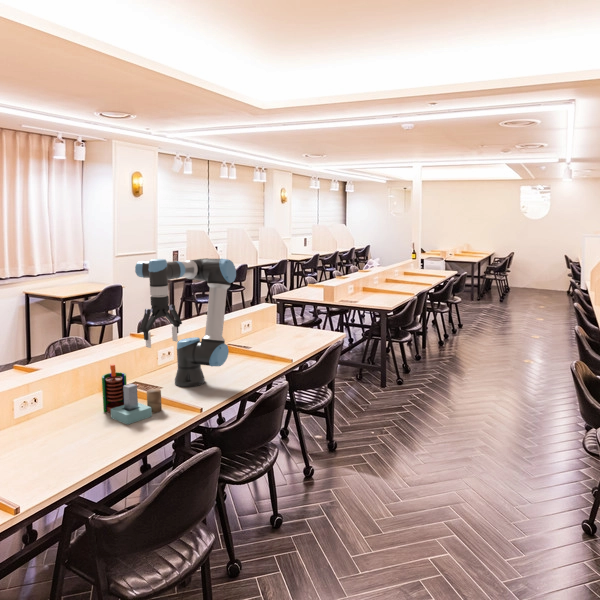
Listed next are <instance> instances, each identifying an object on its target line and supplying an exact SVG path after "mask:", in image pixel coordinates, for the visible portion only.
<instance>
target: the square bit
mask: <svg viewBox="0 0 600 600" xmlns="http://www.w3.org/2000/svg"><path fill="white" fill-rule="evenodd" d="M123 391H124V409H125V410H127V411H132V410H135V409H138V403H139V402H138V401H139V398H138V384H134V383H129V384H127V385H124V386H123Z"/></svg>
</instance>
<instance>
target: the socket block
mask: <svg viewBox="0 0 600 600" xmlns="http://www.w3.org/2000/svg"><path fill="white" fill-rule="evenodd" d="M152 414H153V413H152V407H149V406H147V404H143V403H140V402H138V409H135V410H132V411H127V410H125V409H124V405H122V406H119V407H115V408H112V409H111V413H110V419H113V420H115V421H117V422H120V423H123V424H125V425H130V424H134V423H136V422H139V421H142V420H145V419H149V418H152V417H153V415H152Z"/></svg>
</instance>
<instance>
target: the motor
mask: <svg viewBox="0 0 600 600" xmlns="http://www.w3.org/2000/svg"><path fill="white" fill-rule="evenodd" d="M109 369H110V372H108V373H105V374H103V375H102V376H101V389H102V406H103V407H102V408H103V412H104V413H110V414H111V409H112V408H115V407H119V406H122V405H124V391H123V386H124V385H128V384H127V374H126V373H124V372H122V371H121V372H120V371H119V372H118V371H116V364H115V363H112V364H111V363H110V364H109Z"/></svg>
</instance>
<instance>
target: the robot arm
mask: <svg viewBox="0 0 600 600" xmlns="http://www.w3.org/2000/svg"><path fill="white" fill-rule="evenodd" d="M134 272H135V274H136V276H137V277H138V278H143V279H149V294H150V305H151V308H145V309H144V314H143V318H142V321H141V323H140V326H139V329H138V331H139V332H142V333H143V339H144V340H145V347H146V348H148V349H149V348H150V349H151V348H152V338H151V337H152V336H151V332H150V330H151V329H152V327H153V326H154V323H155V322H156V320H158V319H160V318H164V317H165V318H166V319H167V321H169V322H170V323H171V324H172V326H171V335H172V336H171V337H172V338H171V339H172V342H177V343H176V355H177V357H176V358H177V359H176V360H177V370H176V373H175V378H174V384H175V386H177V387H181V388H186V387H187V388H191V387H198V386H202V385H204V383H205V380H206V379H205V375H204V373H203V370H202V366H209V367H221V366H223V365H224V364H225V362H226V361H227V359H228V357H229V346H228V345H227V344H226V340H225V338H224V337H223V334H224V332H223V331H224V322H225V313H226V301H227V291H228V290H229V288H230V287H231V283H233V282H235V279H236V278H237V269H236V265H235V263H234V262H233V261H232V260H230V259H228V258H198V259H187V260H185V261H179V260H177V261H176V260H174V261H167V260H166V258H165V259H164V258H155V259H154V258H153V259H150V260H140V261H137V263H136V264H135V270H134ZM180 278H185V279H187V280H188V279H189V280H196V281H202V282H206V283H207V286H208V287H209V291H208V301H207V302H208V304H207V311H206V312H207V313H206V323H205V334H204V336H203V337H201V338H200V337H193V336H192V337H187V338H183V339H180V340H179V339H178V334H179V327H180V326H181V325H182V324H183V322H182V320H181V318H180V316H179V314H178V311H177V310H176V305H175V304H170V300H169V299H170V298H169V284H168V283H169V282H168V281H169V280H178V279H180Z"/></svg>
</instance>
